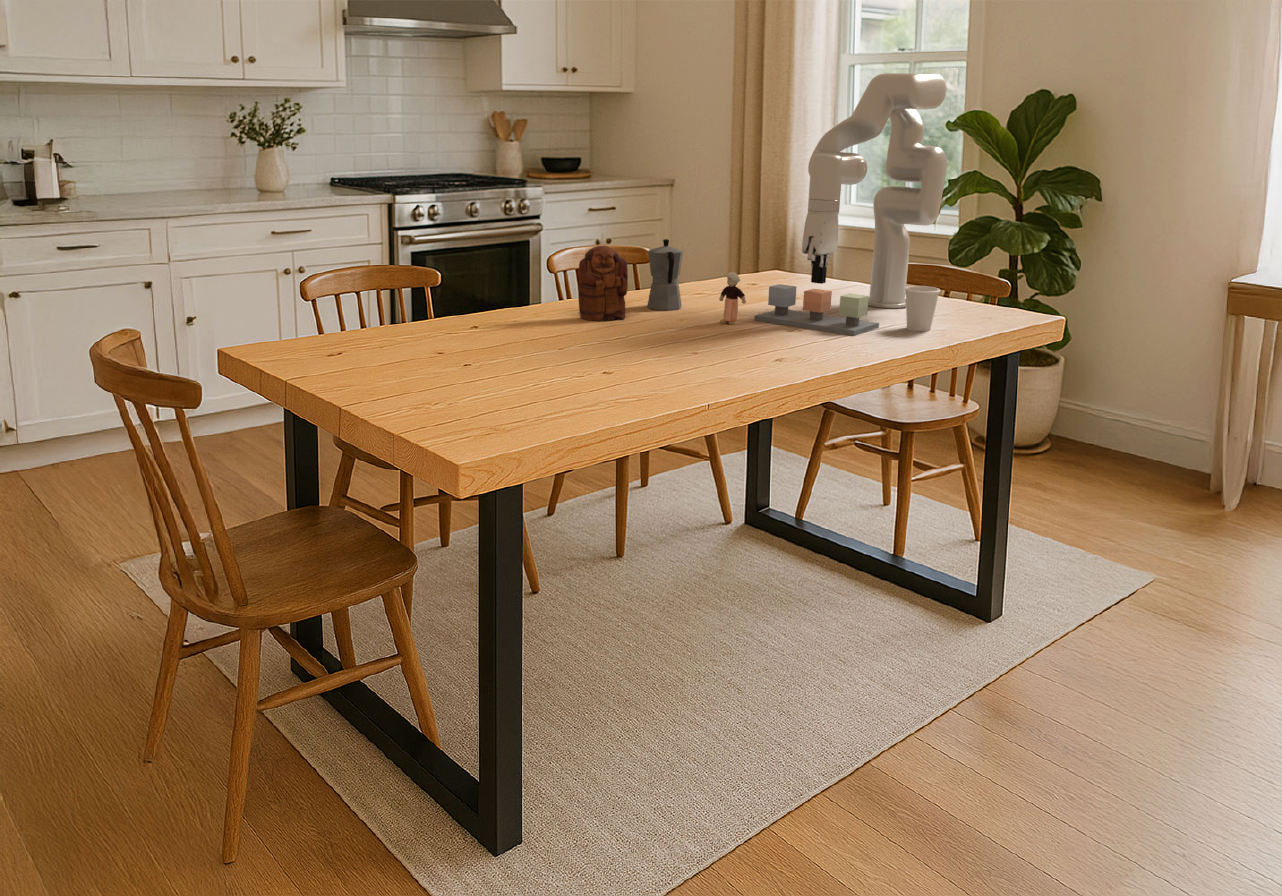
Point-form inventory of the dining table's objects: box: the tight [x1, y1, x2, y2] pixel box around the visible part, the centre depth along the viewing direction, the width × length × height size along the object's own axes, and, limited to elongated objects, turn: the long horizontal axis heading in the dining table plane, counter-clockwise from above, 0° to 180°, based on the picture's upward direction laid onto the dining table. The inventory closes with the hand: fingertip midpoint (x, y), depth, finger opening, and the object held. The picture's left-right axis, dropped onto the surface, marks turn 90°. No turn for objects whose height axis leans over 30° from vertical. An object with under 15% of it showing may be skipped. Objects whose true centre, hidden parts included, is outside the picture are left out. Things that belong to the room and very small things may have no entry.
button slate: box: [767, 283, 797, 308], centre depth 275 cm, size 5×5×5 cm
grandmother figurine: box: [719, 271, 747, 325], centre depth 268 cm, size 8×4×13 cm, turn 62°
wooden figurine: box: [578, 245, 629, 322], centre depth 269 cm, size 12×6×18 cm, turn 107°
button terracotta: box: [802, 288, 833, 313], centre depth 269 cm, size 5×5×5 cm
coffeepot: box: [646, 238, 684, 312], centre depth 284 cm, size 15×9×18 cm, turn 9°
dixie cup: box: [905, 285, 941, 332], centre depth 266 cm, size 8×8×10 cm
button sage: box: [838, 293, 870, 318], centre depth 263 cm, size 5×5×5 cm
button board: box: [753, 306, 880, 336], centre depth 270 cm, size 13×28×3 cm, turn 52°
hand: (818, 282), depth 268 cm, fingers closed
